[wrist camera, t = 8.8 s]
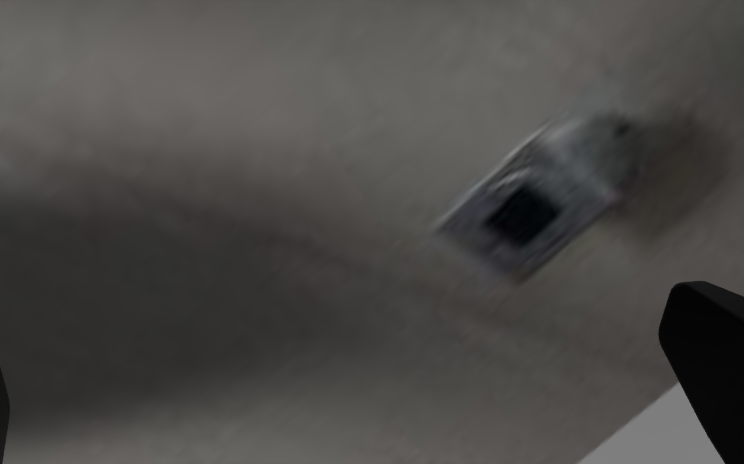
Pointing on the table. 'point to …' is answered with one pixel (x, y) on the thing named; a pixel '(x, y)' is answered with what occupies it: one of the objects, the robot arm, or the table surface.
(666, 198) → the table surface
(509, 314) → the table surface
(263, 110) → the table surface
